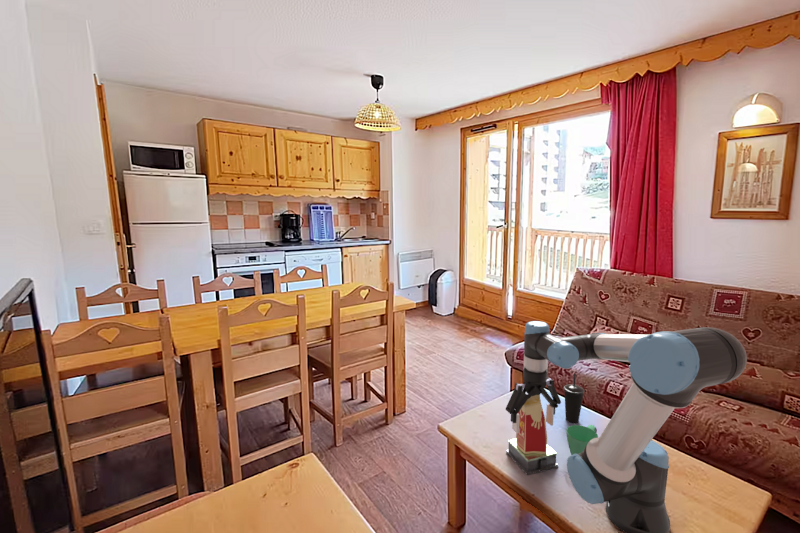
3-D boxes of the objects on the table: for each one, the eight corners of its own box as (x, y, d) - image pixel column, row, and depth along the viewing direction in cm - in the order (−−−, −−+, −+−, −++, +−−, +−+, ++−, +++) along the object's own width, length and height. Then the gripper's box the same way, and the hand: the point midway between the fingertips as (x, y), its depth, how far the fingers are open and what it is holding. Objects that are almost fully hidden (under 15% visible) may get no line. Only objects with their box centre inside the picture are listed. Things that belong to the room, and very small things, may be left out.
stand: (558, 467, 127) (559, 454, 126) (527, 475, 124) (528, 461, 123) (534, 446, 139) (535, 433, 138) (506, 452, 135) (506, 439, 134)
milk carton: (538, 437, 135) (541, 384, 132) (548, 454, 126) (551, 398, 123) (512, 437, 136) (514, 385, 132) (520, 454, 126) (522, 398, 123)
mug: (589, 473, 124) (591, 445, 123) (559, 459, 131) (561, 432, 130) (606, 454, 134) (608, 428, 132) (578, 441, 141) (580, 416, 139)
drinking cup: (557, 417, 157) (560, 371, 154) (571, 413, 160) (573, 368, 157) (573, 427, 150) (576, 379, 147) (586, 422, 153) (589, 375, 150)
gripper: (558, 358, 133) (555, 414, 137) (496, 368, 126) (494, 427, 129) (574, 367, 126) (570, 426, 130) (509, 378, 119) (507, 440, 122)
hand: (532, 427), depth 129 cm, fingers open, 13 cm apart
